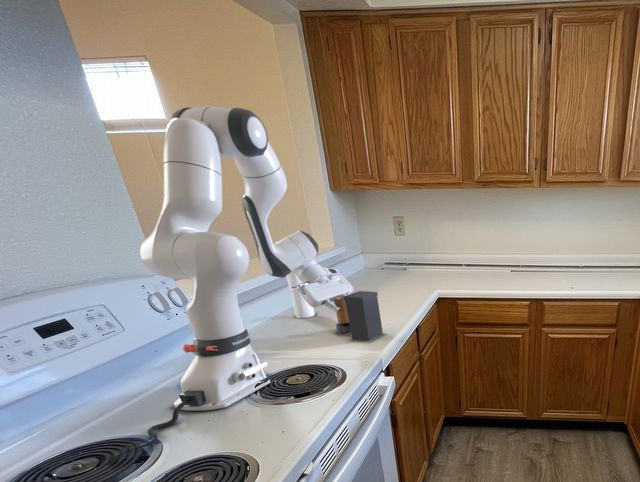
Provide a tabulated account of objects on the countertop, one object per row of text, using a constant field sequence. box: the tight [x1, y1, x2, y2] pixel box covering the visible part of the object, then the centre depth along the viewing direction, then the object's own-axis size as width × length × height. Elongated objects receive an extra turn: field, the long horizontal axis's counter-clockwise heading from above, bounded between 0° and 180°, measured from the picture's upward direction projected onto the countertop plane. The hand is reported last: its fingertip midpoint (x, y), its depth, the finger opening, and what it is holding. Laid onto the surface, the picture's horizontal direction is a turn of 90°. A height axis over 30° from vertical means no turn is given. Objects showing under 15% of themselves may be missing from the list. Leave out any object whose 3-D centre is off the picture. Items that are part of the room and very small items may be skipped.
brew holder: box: [335, 322, 351, 335], centre depth 151 cm, size 7×7×3 cm
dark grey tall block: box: [344, 290, 384, 342], centre depth 142 cm, size 8×7×15 cm
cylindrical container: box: [286, 272, 316, 319], centre depth 169 cm, size 7×7×25 cm
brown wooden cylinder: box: [333, 295, 349, 324], centre depth 148 cm, size 5×5×9 cm
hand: (344, 308), depth 147 cm, fingers closed on brown wooden cylinder, 5 cm apart
